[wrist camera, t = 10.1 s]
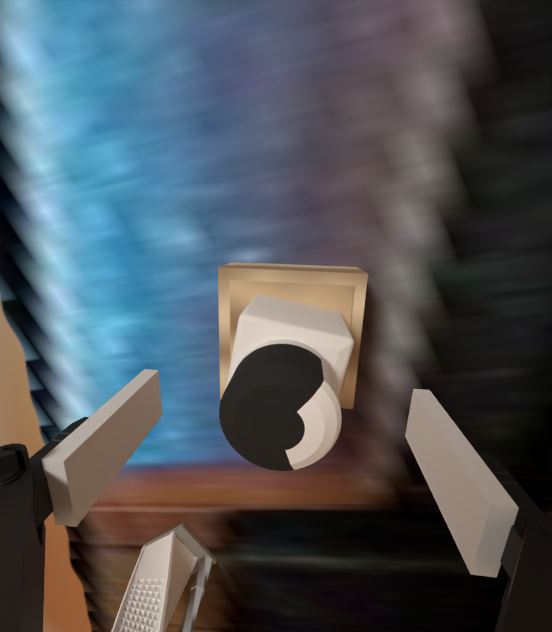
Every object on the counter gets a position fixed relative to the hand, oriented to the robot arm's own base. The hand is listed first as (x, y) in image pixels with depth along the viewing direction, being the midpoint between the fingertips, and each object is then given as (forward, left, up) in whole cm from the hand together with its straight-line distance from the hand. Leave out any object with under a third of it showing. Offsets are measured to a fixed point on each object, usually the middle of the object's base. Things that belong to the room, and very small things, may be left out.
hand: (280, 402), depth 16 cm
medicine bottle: (0, 0, -11) cm, 11 cm away
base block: (0, 0, -16) cm, 16 cm away
